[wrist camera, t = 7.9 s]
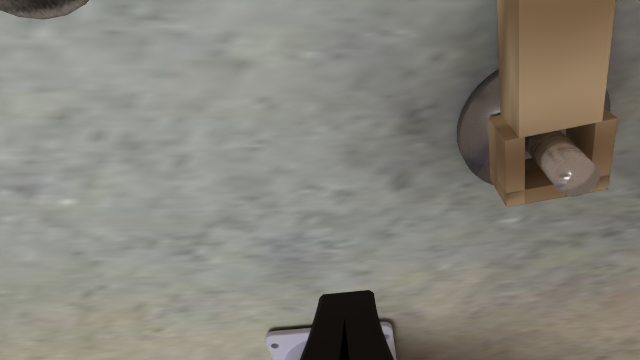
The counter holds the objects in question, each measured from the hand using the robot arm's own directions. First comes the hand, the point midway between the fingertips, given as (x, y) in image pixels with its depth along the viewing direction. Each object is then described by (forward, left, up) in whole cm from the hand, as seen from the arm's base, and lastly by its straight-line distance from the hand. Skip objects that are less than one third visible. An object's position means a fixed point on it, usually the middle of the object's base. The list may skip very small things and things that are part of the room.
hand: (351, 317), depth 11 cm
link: (+4, -8, -8) cm, 12 cm away
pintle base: (0, -8, -9) cm, 12 cm away
